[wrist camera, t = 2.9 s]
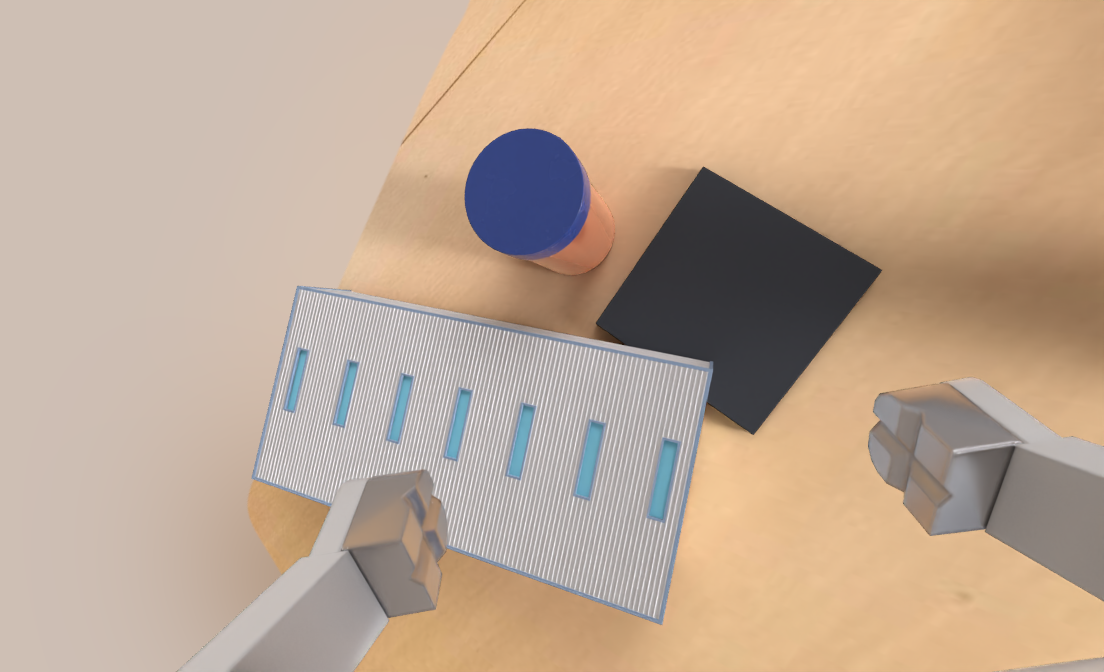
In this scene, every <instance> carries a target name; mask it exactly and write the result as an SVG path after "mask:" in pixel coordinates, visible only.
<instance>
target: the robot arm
mask: <svg viewBox="0 0 1104 672" xmlns="http://www.w3.org/2000/svg"><path fill="white" fill-rule="evenodd" d="M873 412H874V413H875V415H876V416H877V417H878V418H879V419H880V421H879V422H878V423H877V424H876V425H875V426H874V427H873V428H872V429H871V431H870V434H869V442H868V448H869V452H870V456H871V460H872V462H873V464H874V466H875V468H876V470H877V472H878V473H879V475H880V476H881V477H882V478H883V480H884V481H885V482H886V483H887V484H889V485H891V486H893V487H895V488H897V489H899V490H901V491H903V492H904V500H903V504H904V505H905V507H906V508H907V509H908V510H909V511H910V513H911V514H912V515H913V516H914V517H915V519H916V520H917V521H918V522H919V523H920V525H921V526H922V527H923V528H924V529H925V531H926V532H927V533H928V534H929V535H930V536H933V535H941V534H949V533H958V532H966V531H974V530H982V529H986V530H985V532H986V533H988V534H989V535H991V536H993V537H995V538H996V539H998V540H1000V541H1001V542H1003V543H1005V544H1007V545H1008V546H1010V547H1012V548H1013V549H1015V550H1017V551H1019V552H1020V553H1022V554H1024V555H1025V556H1027V557H1029V558H1030V559H1032V560H1034V561H1036V562H1037V563H1039V564H1041V565H1042V566H1044V567H1046V568H1048V569H1049V570H1051V571H1053V572H1054V573H1056V574H1058V575H1060V576H1061V577H1063V578H1065V579H1066V580H1068V581H1070V582H1072V583H1073V584H1075V585H1077V586H1078V587H1080V588H1082V589H1084V590H1085V591H1087V592H1089V593H1090V594H1092V595H1094V596H1095V597H1097V598H1099V599H1101V600H1102V601H1104V446H1101V445H1098V444H1095V443H1091V442H1088V441H1085V440H1082V439H1079V438H1076V437H1073V436H1072V437H1065V438H1062V437H1060V436H1059V435H1057V434H1056V433H1055V432H1053V431H1052V430H1050V429H1049V428H1048V427H1046V426H1045V425H1044V424H1042V423H1041V422H1039V421H1038V420H1037V419H1035V418H1034V417H1033V416H1031V415H1030V414H1028V413H1027V412H1026V411H1024V410H1023V409H1021V408H1020V407H1019V406H1017V405H1016V404H1015V403H1013V402H1012V401H1010V400H1009V399H1008V398H1006V397H1005V396H1003V395H1002V394H1001V393H999V392H998V391H997V390H995V389H994V388H992V387H991V386H990V385H988V384H987V383H985V382H984V381H983V380H980V379H977V378H974V377H968V378H962V379H957V380H952V381H946V382H941V383H939V384H932V385H926V386H920V387H914V388H908V389H903V390H897V391H891V392H885V393H880V394H879V396H878V397H877V399H876V400H875V404H874V409H873ZM433 487H434V482H433V480H432V478H431V476H430V474H429V472H428V471H427V470H424V469H421V470H414V471H407V472H400V473H393V474H386V475H379V476H372V477H369V478H361V479H354V480H347V481H345V482H344V483H343V484H342V485H341V486H340V487H339V489H338V492H337V494H336V496H335V498H334V501H333V503H332V505H331V507H330V510H329V512H328V514H327V516H326V519H325V521H324V523H323V525H322V528H321V530H320V532H319V534H318V537H317V539H316V541H315V543H314V546H313V548H312V550H311V552H310V555H309V557H303V558H300V559H299V560H298V561H296V562H295V563H294V564H293V565H292V566H291V567H290V568H289V569H288V570H287V571H286V572H284V573H283V574H282V575H281V576H280V577H279V578H278V579H277V580H276V581H275V582H274V583H273V584H271V585H270V586H269V587H268V588H267V589H266V590H265V591H264V592H263V593H262V594H261V595H259V596H258V597H257V598H256V599H255V600H254V601H253V602H252V603H251V604H250V605H249V606H248V607H246V608H245V609H244V610H243V611H242V612H241V613H240V614H239V615H238V616H237V617H235V618H234V619H233V620H232V621H231V622H230V623H229V624H228V625H227V626H226V627H225V628H223V629H222V630H221V631H220V632H219V633H218V634H217V635H216V636H215V637H214V638H213V639H212V640H210V641H209V642H208V643H207V644H206V645H205V646H204V647H203V648H202V649H201V650H200V651H198V652H197V653H196V654H195V655H194V656H193V657H192V658H191V659H190V660H189V661H187V662H186V664H184V665H183V666H182V667H181V668H180V669H179V670H178V671H177V672H354V670H355V669H356V668H357V666H358V665H359V663H360V662H361V660H362V659H363V657H364V656H365V655H366V653H367V652H368V650H369V649H370V647H371V646H372V645H373V643H374V642H375V640H376V639H377V637H378V636H379V634H380V633H381V632H382V630H383V629H384V627H385V626H386V624H387V623H388V622H389V619H388V618H390V617H396V616H401V615H407V614H413V613H418V612H424V611H429V610H435V609H436V606H437V601H438V595H439V589H440V583H441V578H442V573H441V571H440V568H439V566H438V564H437V562H438V561H439V560H440V558H441V557H442V556H443V555H444V554H445V552H446V548H447V541H448V522H447V517H446V513H445V509H444V506H443V504H442V501H441V500H439V499H438V498H436V497H435V496H433V495H432V491H433ZM994 672H1104V657H1100V658H1092V659H1085V660H1077V661H1070V662H1062V663H1055V664H1047V665H1040V666H1032V667H1025V668H1017V669H1009V670H1002V671H994Z"/></svg>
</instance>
